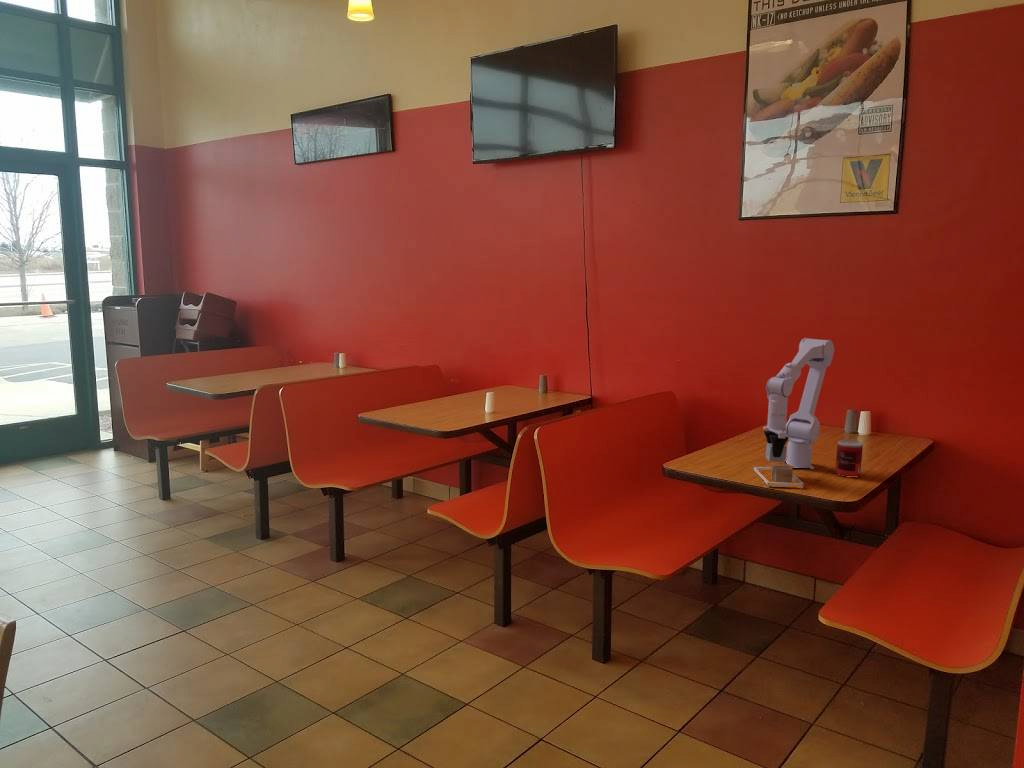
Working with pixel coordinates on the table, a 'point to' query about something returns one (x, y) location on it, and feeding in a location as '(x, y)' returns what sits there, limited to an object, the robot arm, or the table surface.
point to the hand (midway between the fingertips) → (774, 454)
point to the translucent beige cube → (782, 473)
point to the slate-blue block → (770, 454)
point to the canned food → (849, 457)
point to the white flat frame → (799, 482)
